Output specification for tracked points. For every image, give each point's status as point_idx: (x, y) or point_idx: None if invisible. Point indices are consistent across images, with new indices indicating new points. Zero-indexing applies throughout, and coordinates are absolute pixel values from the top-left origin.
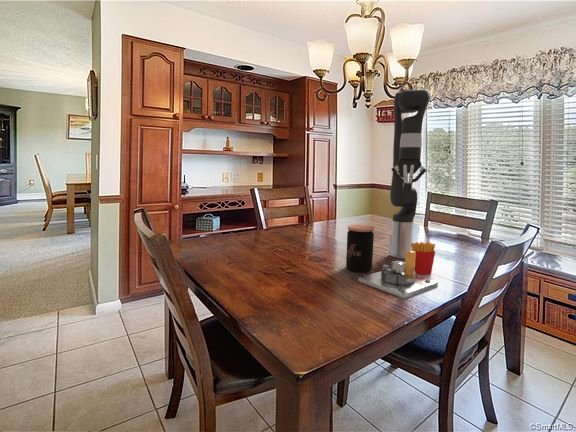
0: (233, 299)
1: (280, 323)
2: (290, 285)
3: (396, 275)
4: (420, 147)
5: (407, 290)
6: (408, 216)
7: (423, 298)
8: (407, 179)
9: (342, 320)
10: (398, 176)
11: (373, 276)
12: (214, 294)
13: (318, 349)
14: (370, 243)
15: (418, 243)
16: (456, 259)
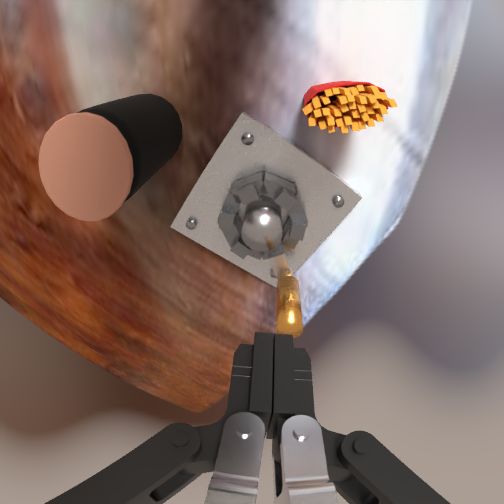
0: (65, 337)
1: (143, 373)
2: (80, 283)
3: (259, 255)
4: None
5: None
6: None
7: (316, 271)
8: (259, 456)
9: (200, 361)
10: (160, 487)
11: (201, 208)
12: (42, 329)
13: (199, 398)
14: (149, 174)
15: (332, 124)
16: None
